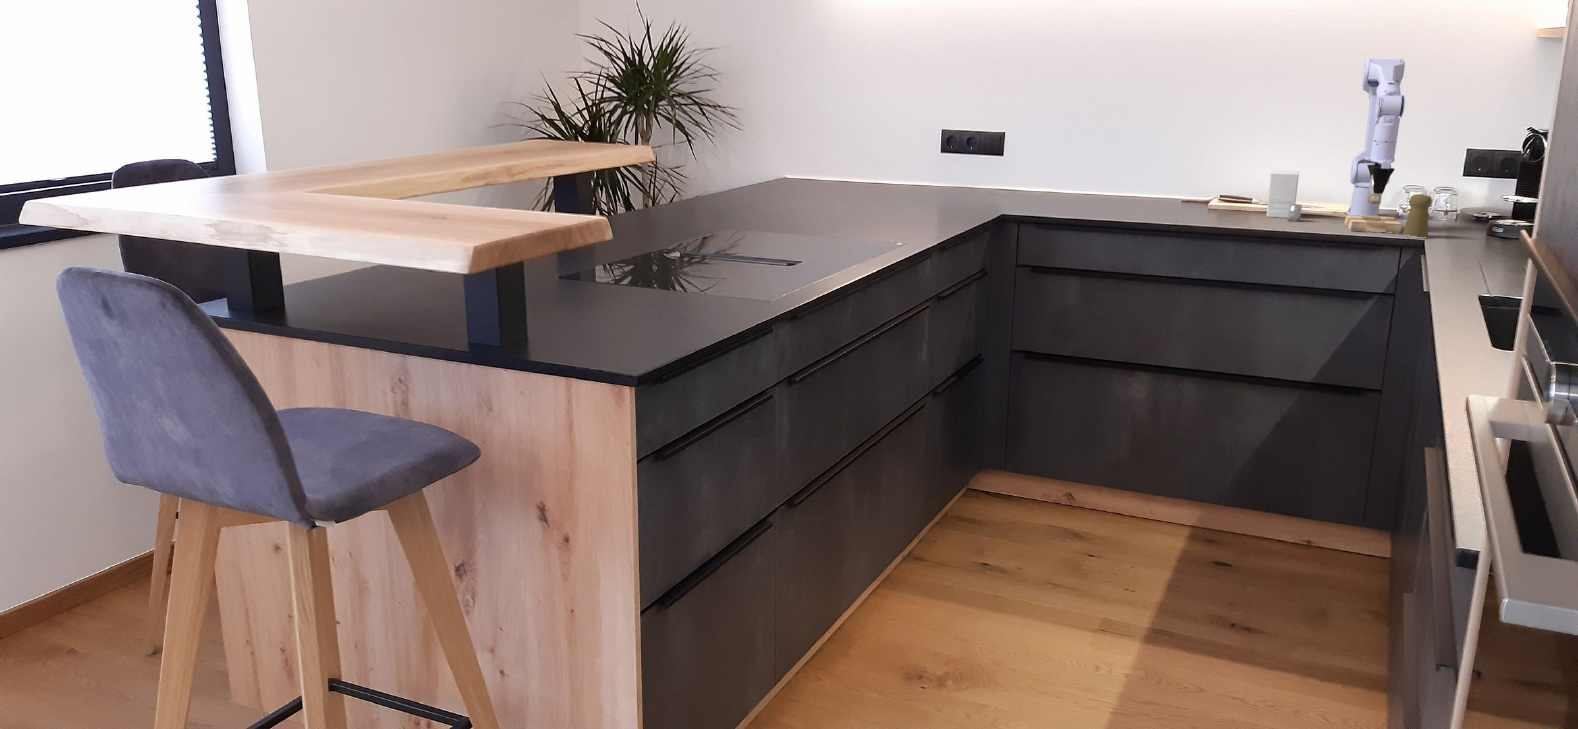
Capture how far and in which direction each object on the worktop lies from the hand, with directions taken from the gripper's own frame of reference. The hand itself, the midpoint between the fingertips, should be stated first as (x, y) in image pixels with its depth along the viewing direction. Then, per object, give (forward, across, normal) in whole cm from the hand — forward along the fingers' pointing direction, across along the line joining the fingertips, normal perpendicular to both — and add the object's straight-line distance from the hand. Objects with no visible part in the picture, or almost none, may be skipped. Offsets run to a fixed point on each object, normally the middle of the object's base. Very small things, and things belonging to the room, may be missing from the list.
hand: (1376, 192), depth 316 cm
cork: (+10, +9, +9) cm, 16 cm away
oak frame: (+10, 0, 0) cm, 10 cm away
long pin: (+3, 0, 0) cm, 3 cm away
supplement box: (+10, -15, -22) cm, 28 cm away
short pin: (+10, -7, -19) cm, 23 cm away
